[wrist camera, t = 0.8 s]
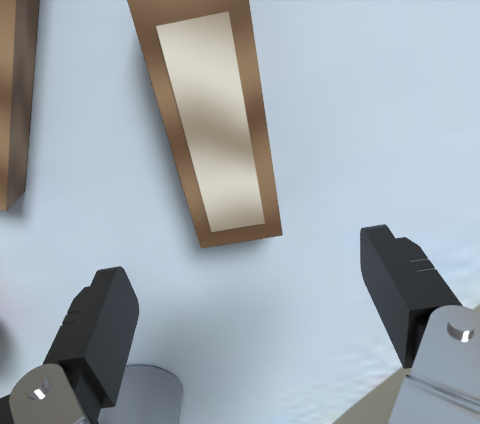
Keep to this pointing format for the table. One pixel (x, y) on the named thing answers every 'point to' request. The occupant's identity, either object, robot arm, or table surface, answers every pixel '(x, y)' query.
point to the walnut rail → (16, 93)
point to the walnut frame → (212, 113)
